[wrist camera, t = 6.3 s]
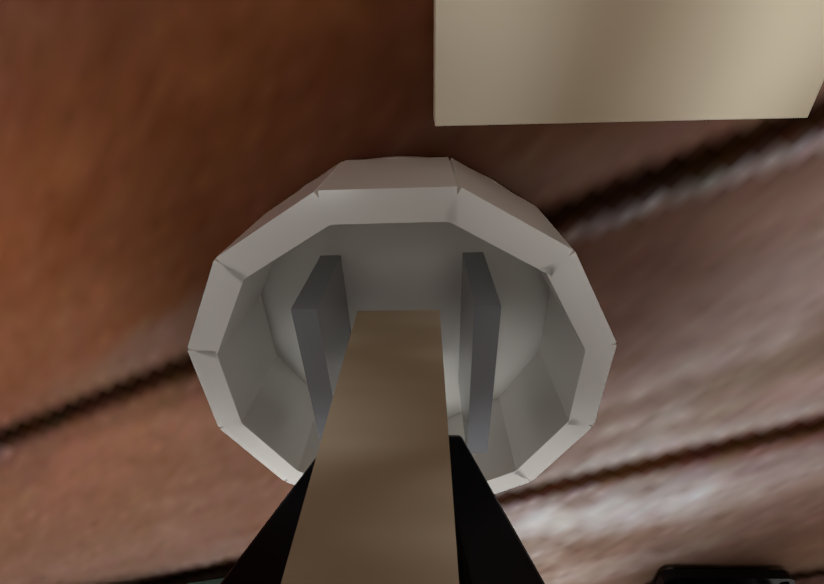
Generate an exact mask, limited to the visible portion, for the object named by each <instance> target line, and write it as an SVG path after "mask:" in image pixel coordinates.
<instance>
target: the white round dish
mask: <svg viewBox="0 0 824 584" xmlns="http://www.w3.org/2000/svg"><path fill="white" fill-rule="evenodd" d="M392 310H440V322H441V336H442V350H443V364H444V378H445V392H446V406H447V420H448V434H449V435H460V436H461V437H462V438H463V440H464V442H465V443H466V445H467V447H468V449H469V450H470V452H471V454H472V456H473V457H474V459H475V461H476V463H477V465H478V466H479V468H480V470H481V472H482V473H483V475H484V477H485V479H486V480H487V482H488V484H489V486H490V488H491V489H492V491H493V493H494V494H496V493H499V492H502V491H505V490H508V489H511V488H514V487H517V486H520V485H523V484H526V483H529V482H530V480H531V481H533V480H534V479H535V478H536V477H537V476H538V475H539V474H541V473H542V472H543V471H544V470H545V469H546V468H547V467H548V466H550V465H551V464H552V463H553V462H554V461H555V460H556V459H557V458H558V457H560V456H561V455H562V454H563V453H564V452H565V451H566V450H567V449H569V448H570V447H571V446H572V445H573V444H574V443H575V442H576V441H578V440H579V439H580V438H581V437H582V436H583V435H584V434H585V433H586V432H588V431H589V430H590V429H591V428H592V425H594V423H595V420H596V416H597V413H598V409H599V406H600V402H601V399H602V395H603V391H604V388H605V384H606V381H607V377H608V374H609V370H610V367H611V363H612V360H613V356H614V353H615V349H616V346H617V345H616V344H615V343H616V340H615V338H614V336H613V334H612V331H611V329H610V327H609V325H608V323H607V320H606V318H605V316H604V314H603V312H602V309H601V307H600V305H599V303H598V300H597V298H596V296H595V294H594V292H593V289H592V287H591V285H590V283H589V281H588V278H587V276H586V274H585V272H584V270H583V267H582V265H581V263H580V261H579V258H578V256H577V254H576V252H575V251H574V250H573V249H572V247H571V246H570V245H569V244H568V243H567V242H566V240H565V239H564V238H563V237H562V236H561V235H560V233H559V232H558V231H557V230H556V229H555V228H554V226H553V225H552V224H551V223H550V222H549V221H548V219H547V218H546V217H545V216H544V215H543V214H542V213H541V211H540V210H539V209H538V208H537V207H536V206H535V205H533V204H531V203H529V202H528V201H526V200H524V199H522V198H521V197H519V196H517V195H515V194H514V193H512V192H511V191H509V190H508V189H506V188H505V187H503V186H502V185H500V184H499V183H497V182H496V181H495V180H493V179H491V178H489V177H487V176H485V175H483V174H481V173H479V172H477V171H475V170H473V169H470V168H468V167H467V166H465V165H463V164H461V163H460V162H458V161H456V160H454V159H453V158H451V159H450V161H449V158H448V157H431V158H427V157H417V156H390V157H380V158H371V159H367V160H345V161H344V162H342V161H341V162H340V163H338V164H337V165H336V166H334V167H333V168H331V169H330V170H328V171H327V172H325V173H324V174H322V175H321V176H319V177H318V178H317V179H315V180H313V181H311V182H310V183H308V184H306V185H305V186H304V187H302V188H301V189H300V190H299V191H297V192H296V193H295V194H293V195H292V196H290V197H289V198H287V199H286V200H284V201H283V202H281V203H280V204H279V205H277V206H276V207H274V208H273V209H271V210H270V211H268V212H267V213H265V214H264V215H263V216H262V217H261V218H260V219H259V220H257V221H256V222H255V223H254V224H253V225H252V226H251V227H250V228H248V229H247V230H246V231H245V232H244V233H243V234H242V235H241V236H239V237H238V238H237V239H236V240H235V241H234V242H233V243H232V244H230V245H229V246H228V247H227V248H226V249H225V250H224V251H223V252H221V253H220V254H219V255H218V256H217V257H216V259H215V260H214V261H213V264H212V268H211V271H210V274H209V278H208V281H207V284H206V288H205V291H204V294H203V298H202V301H201V304H200V308H199V311H198V314H197V318H196V321H195V324H194V328H193V331H192V334H191V337H190V341H189V344H188V347H187V348H189V349H188V353H189V355H190V358H191V360H192V363H193V365H194V368H195V370H196V373H197V375H198V378H199V380H200V383H201V385H202V388H203V390H204V393H205V395H206V398H207V400H208V402H209V405H210V407H211V410H212V412H213V415H214V417H215V420H216V422H217V425H218V427H221V428H220V429H221V430H222V431H223V432H224V433H226V434H227V435H228V436H229V437H231V438H232V439H233V440H234V441H235V442H237V443H238V444H239V445H240V446H242V447H243V448H244V449H245V450H246V451H248V452H249V453H250V454H251V455H253V456H254V457H255V458H256V459H257V460H259V461H260V462H261V463H262V464H264V465H265V466H266V467H267V468H268V469H270V470H271V471H272V472H273V473H275V474H276V475H277V476H278V477H279V478H281V479H282V480H283V481H284V480H286V482H287V483H290V484H293V485H295V484H296V483H297V482H298V480H299V479H300V478H301V476H302V475H303V474H304V472H305V471H306V470H307V468H308V467H309V466H310V464H311V463H312V462H313V461H314V459H315V458H316V456H317V453H318V449H319V446H320V442H321V439H322V435H323V431H324V428H325V424H326V421H327V417H328V414H329V410H330V406H331V403H332V399H333V396H334V392H335V389H336V385H337V381H338V378H339V374H340V371H341V367H342V364H343V360H344V356H345V353H346V349H347V346H348V342H349V339H350V335H351V331H352V328H353V324H354V321H355V317H356V314H357V311H392Z"/></svg>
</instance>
